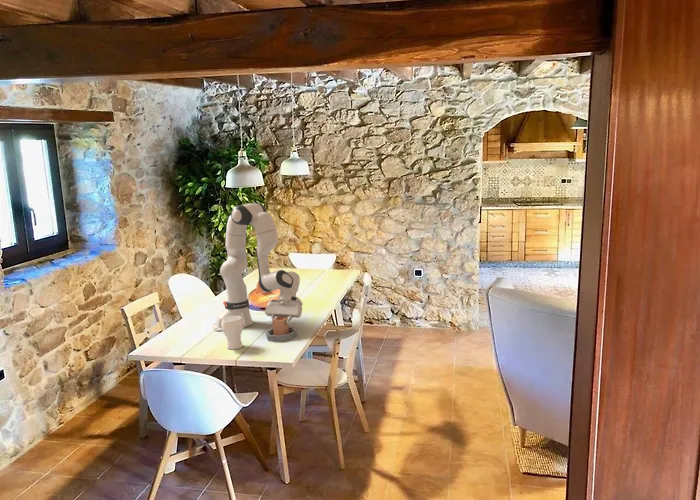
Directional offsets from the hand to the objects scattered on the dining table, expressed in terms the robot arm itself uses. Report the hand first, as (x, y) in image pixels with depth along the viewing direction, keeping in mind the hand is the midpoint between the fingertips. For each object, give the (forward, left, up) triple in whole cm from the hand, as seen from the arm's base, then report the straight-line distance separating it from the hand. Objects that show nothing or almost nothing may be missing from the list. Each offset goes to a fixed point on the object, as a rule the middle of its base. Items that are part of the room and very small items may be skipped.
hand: (279, 323), depth 303 cm
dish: (0, 0, -7) cm, 7 cm away
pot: (0, 0, -6) cm, 6 cm away
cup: (-25, -3, -8) cm, 26 cm away
